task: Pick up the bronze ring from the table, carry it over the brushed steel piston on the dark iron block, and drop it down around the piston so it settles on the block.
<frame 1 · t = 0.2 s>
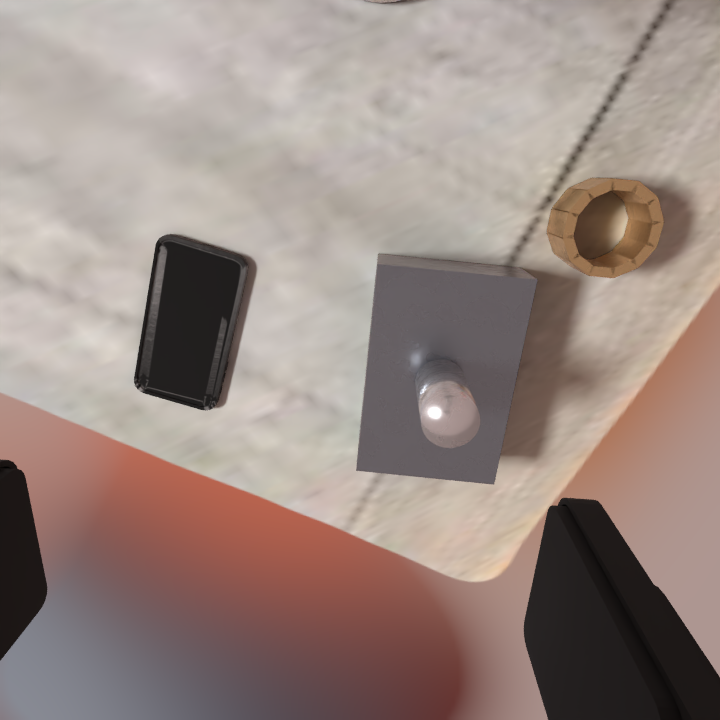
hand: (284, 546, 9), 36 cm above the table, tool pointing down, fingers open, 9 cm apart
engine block: (434, 360, 46), on the table
phone: (193, 324, 47), on the table
bronze ring: (592, 224, 42), on the table
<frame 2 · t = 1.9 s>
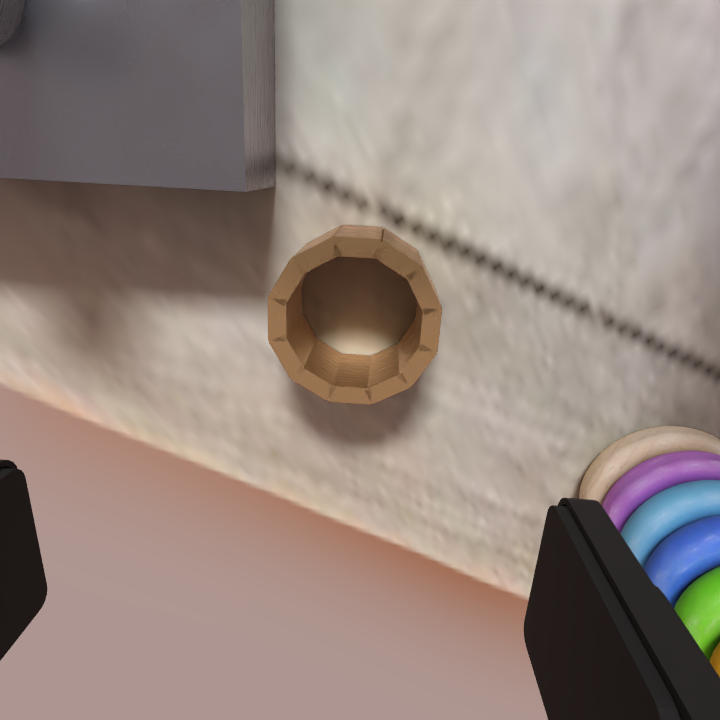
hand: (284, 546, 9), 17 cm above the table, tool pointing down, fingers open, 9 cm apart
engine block: (57, 20, 21), on the table
stacking toy: (649, 483, 28), on the table
bronze ring: (359, 300, 25), on the table
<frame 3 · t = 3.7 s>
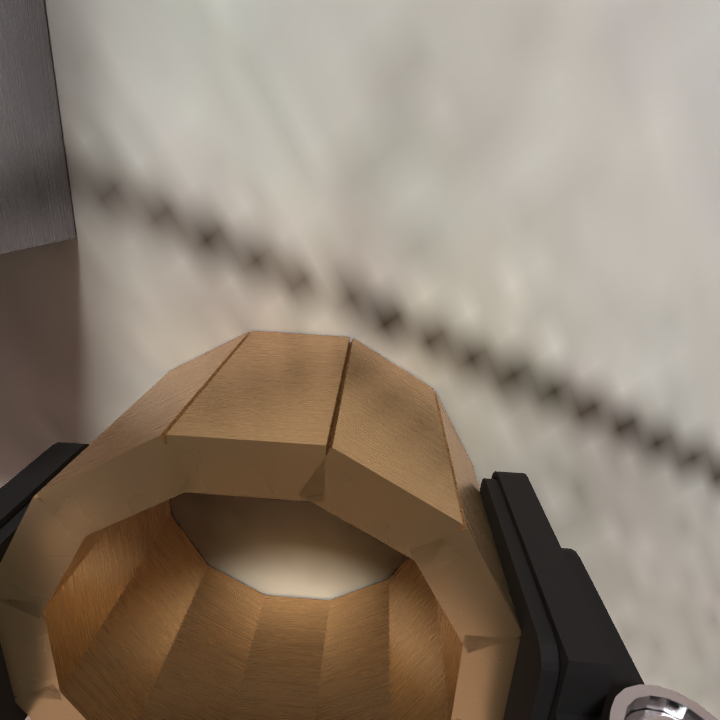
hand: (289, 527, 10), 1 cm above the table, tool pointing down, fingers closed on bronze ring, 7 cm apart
bronze ring: (298, 494, 11), on the table, touching gripper
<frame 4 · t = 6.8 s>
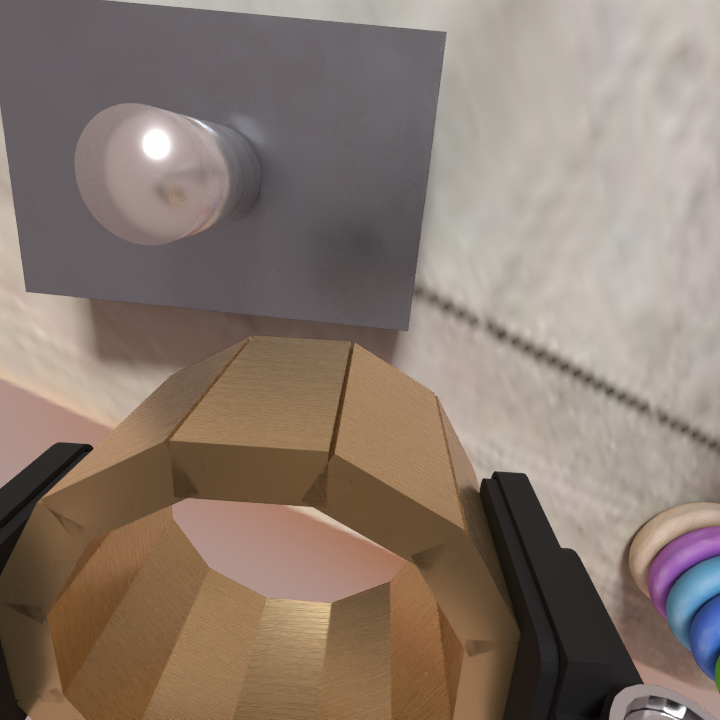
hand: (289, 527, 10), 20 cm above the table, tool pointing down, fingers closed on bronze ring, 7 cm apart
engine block: (245, 174, 27), on the table
stacking toy: (686, 545, 33), on the table
bronze ring: (300, 498, 11), point 19 cm above the table, touching gripper
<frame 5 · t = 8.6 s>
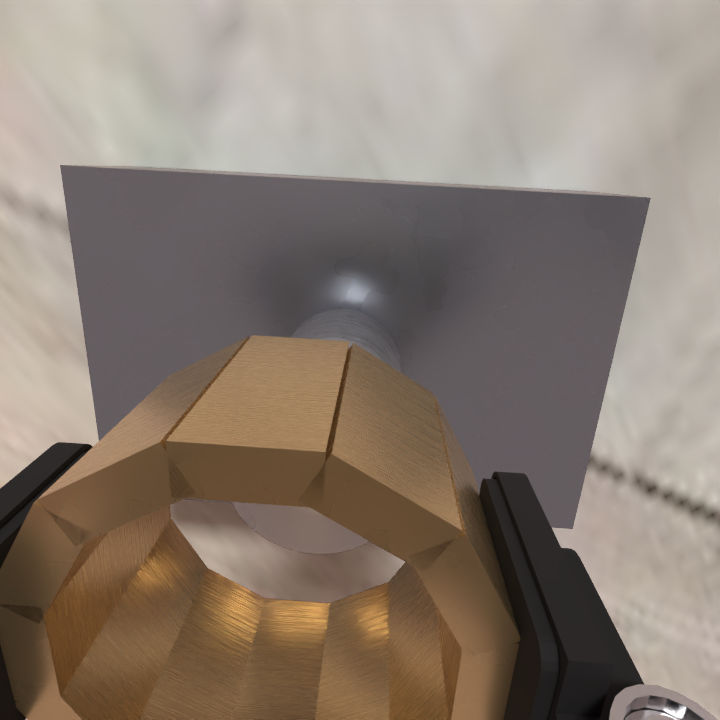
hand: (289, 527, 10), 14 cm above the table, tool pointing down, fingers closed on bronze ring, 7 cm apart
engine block: (352, 324, 22), on the table
bronze ring: (298, 498, 11), point 13 cm above the table, touching gripper
when the fingers open (8 cm above the table, at t = 10.2 s): bronze ring drops 2 cm, resting on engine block.
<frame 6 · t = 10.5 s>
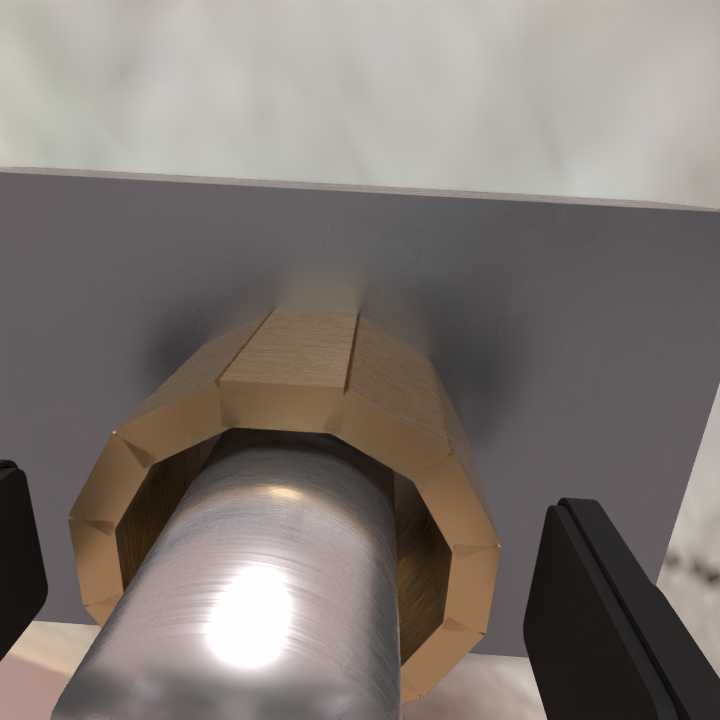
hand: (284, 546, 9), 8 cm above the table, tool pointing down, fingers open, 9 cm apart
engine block: (329, 375, 17), on the table
bronze ring: (313, 454, 12), point 5 cm above the table, touching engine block
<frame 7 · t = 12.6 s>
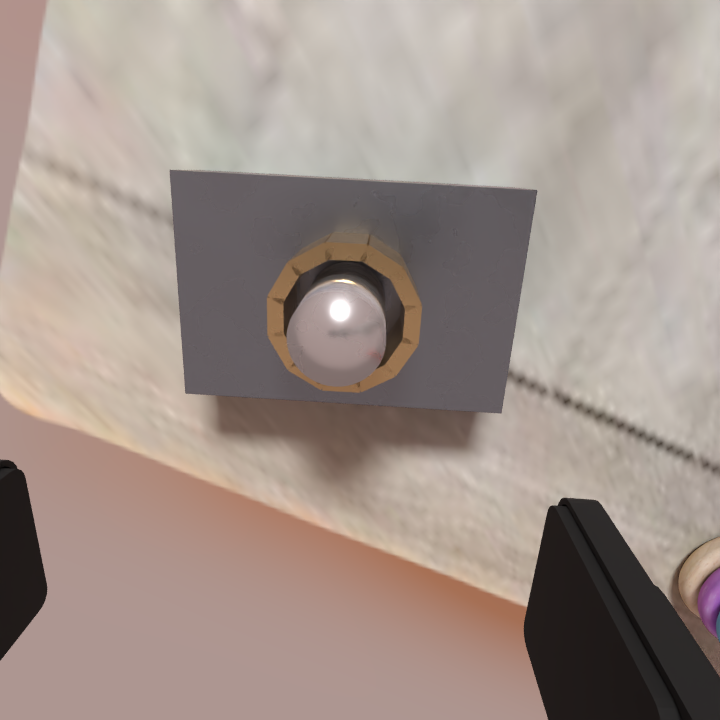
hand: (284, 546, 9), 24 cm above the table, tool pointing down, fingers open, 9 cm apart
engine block: (352, 281, 32), on the table
bronze ring: (348, 300, 27), point 5 cm above the table, touching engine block
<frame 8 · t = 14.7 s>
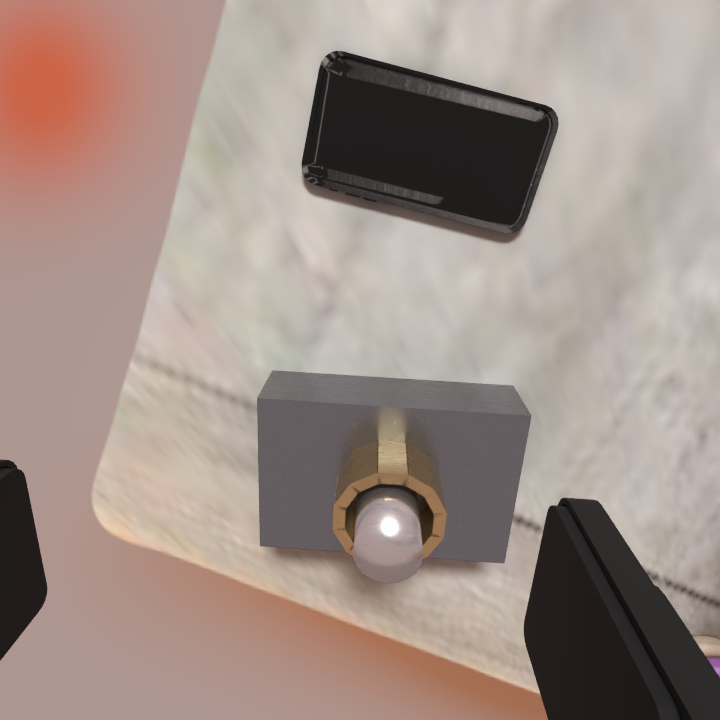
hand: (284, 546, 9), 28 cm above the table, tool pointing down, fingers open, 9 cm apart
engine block: (386, 448, 41), on the table
phone: (425, 148, 34), on the table
stacking toy: (688, 661, 47), on the table
bronze ring: (388, 485, 36), point 5 cm above the table, touching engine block
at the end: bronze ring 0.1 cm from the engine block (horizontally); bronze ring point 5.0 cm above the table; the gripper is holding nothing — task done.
